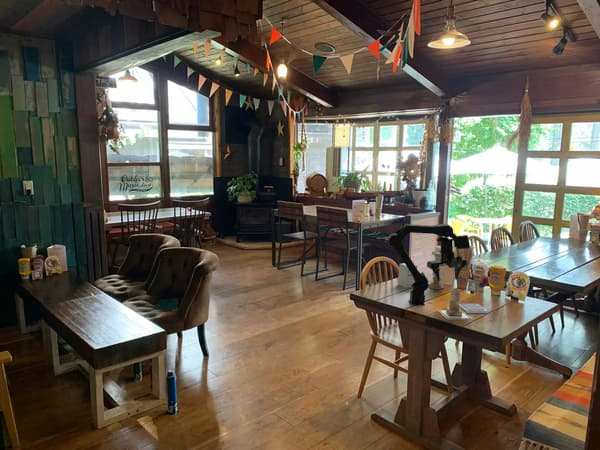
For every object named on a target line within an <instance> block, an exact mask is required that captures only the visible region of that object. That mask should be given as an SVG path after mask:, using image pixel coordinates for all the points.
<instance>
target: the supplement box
mask: <svg viewBox="0 0 600 450" xmlns="http://www.w3.org/2000/svg"><path fill="white" fill-rule="evenodd" d="M414 265H415V266H416V268H417V269H418V265H417V264H414ZM397 281H398V282H397V283H398V284H397V285H398V286H401V287H402V288H406V289H408V288H411V285H412V284H413V283H414V282H415V281H414V278H413V276H412V274H411V272H410V271H409V269H408V268H407V266H406V264H405V263H404V262H403V263H399V268H398V278H397Z"/></svg>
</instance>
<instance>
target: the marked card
mask: <svg viewBox="0 0 600 450" xmlns="http://www.w3.org/2000/svg"><path fill="white" fill-rule="evenodd" d="M437 312H439V313H440V314H441V315H442V316H443V317H444V318H445V319H447V320H473V318H472V317H471V316H470V315H468V313H466V312H465V311H464V310H462V316H461V317H460V316H449V315H448V313H447V311H446V309H437Z"/></svg>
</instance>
